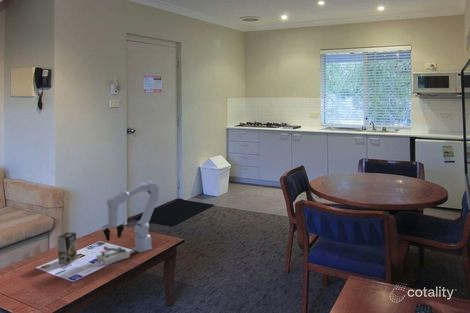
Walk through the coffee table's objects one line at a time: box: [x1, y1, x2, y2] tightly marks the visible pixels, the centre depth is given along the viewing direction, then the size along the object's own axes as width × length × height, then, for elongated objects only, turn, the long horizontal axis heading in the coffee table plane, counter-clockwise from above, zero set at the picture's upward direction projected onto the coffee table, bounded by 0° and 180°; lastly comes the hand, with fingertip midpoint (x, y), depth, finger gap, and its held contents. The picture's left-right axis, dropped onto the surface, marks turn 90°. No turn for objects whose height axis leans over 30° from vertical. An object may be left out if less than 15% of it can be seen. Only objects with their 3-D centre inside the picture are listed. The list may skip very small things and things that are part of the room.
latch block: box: [96, 247, 131, 265], centre depth 236 cm, size 16×10×5 cm, turn 138°
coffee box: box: [57, 232, 78, 265], centre depth 231 cm, size 9×6×16 cm
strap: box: [103, 246, 124, 251], centre depth 236 cm, size 12×3×2 cm, turn 140°
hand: (113, 238), depth 239 cm, fingers open, 7 cm apart
